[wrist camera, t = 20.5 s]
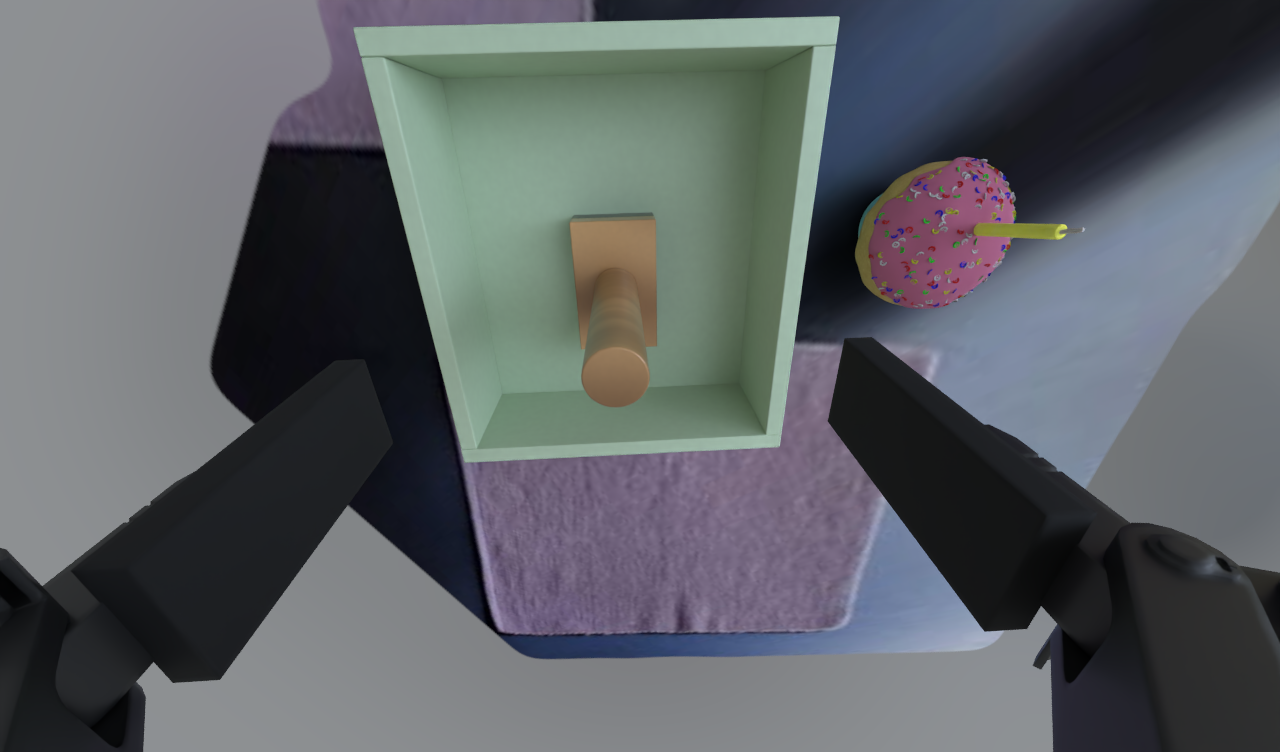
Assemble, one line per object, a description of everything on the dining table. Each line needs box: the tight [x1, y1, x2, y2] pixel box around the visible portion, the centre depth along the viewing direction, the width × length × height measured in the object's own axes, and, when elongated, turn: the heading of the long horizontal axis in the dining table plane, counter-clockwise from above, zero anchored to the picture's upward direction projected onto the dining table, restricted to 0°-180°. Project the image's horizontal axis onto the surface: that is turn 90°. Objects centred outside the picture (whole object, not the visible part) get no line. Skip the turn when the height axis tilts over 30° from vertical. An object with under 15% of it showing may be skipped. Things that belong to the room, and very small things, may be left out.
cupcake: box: [855, 157, 1085, 309], centre depth 25 cm, size 9×8×12 cm
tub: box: [353, 16, 840, 463], centre depth 27 cm, size 22×20×8 cm
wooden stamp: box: [569, 212, 657, 407], centre depth 24 cm, size 8×5×15 cm, turn 1°
